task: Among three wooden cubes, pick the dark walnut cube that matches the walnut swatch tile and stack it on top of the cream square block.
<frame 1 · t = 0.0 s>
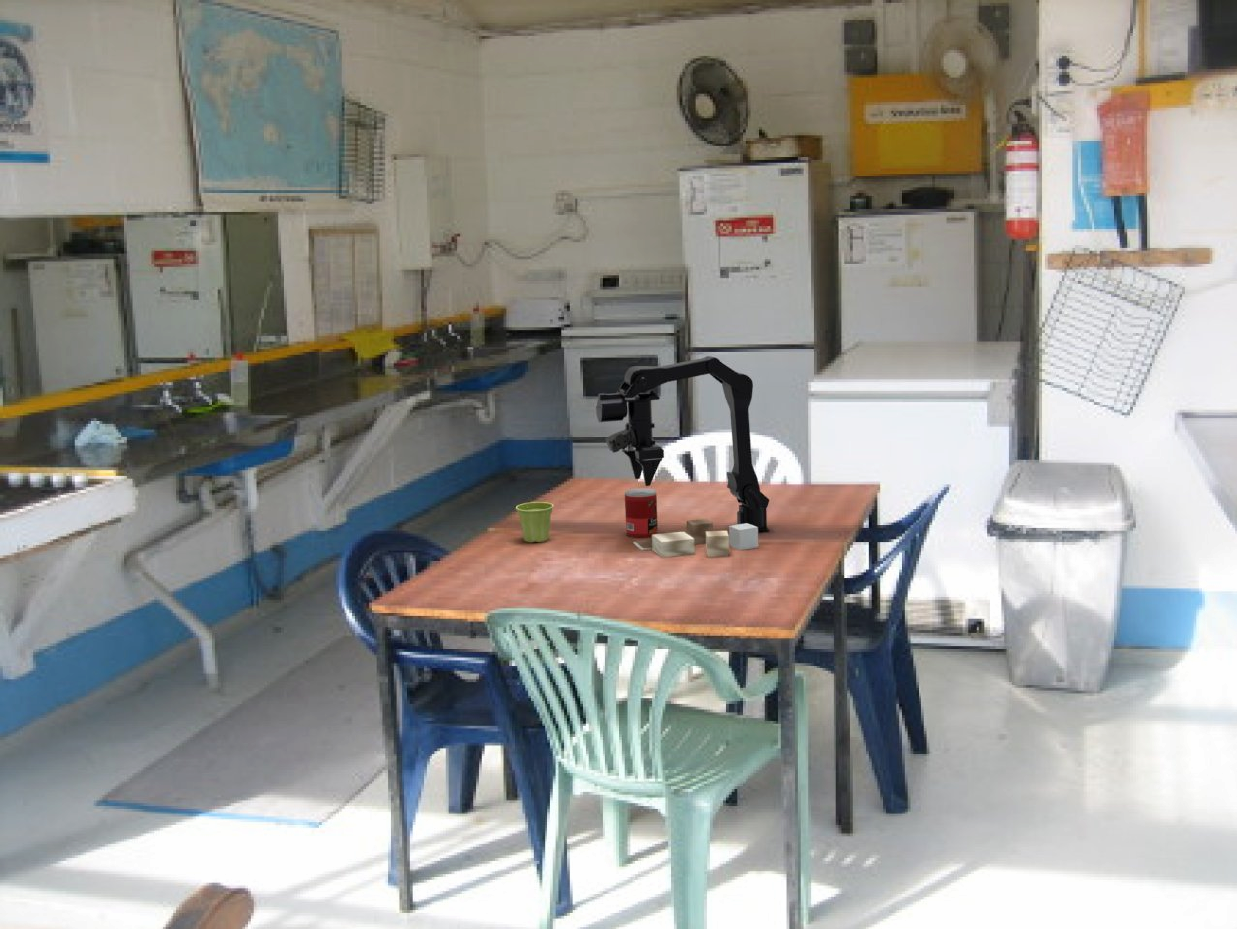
hand: (642, 482, 323), 15 cm above the table, fingers open, 9 cm apart
grey block: (743, 546, 317), on the table
plant pot: (536, 540, 332), on the table
maple block: (717, 554, 311), on the table
cream square block: (673, 553, 315), on the table
canned food: (642, 534, 333), on the table
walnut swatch: (651, 545, 322), on the table
walnut block: (700, 541, 324), on the table
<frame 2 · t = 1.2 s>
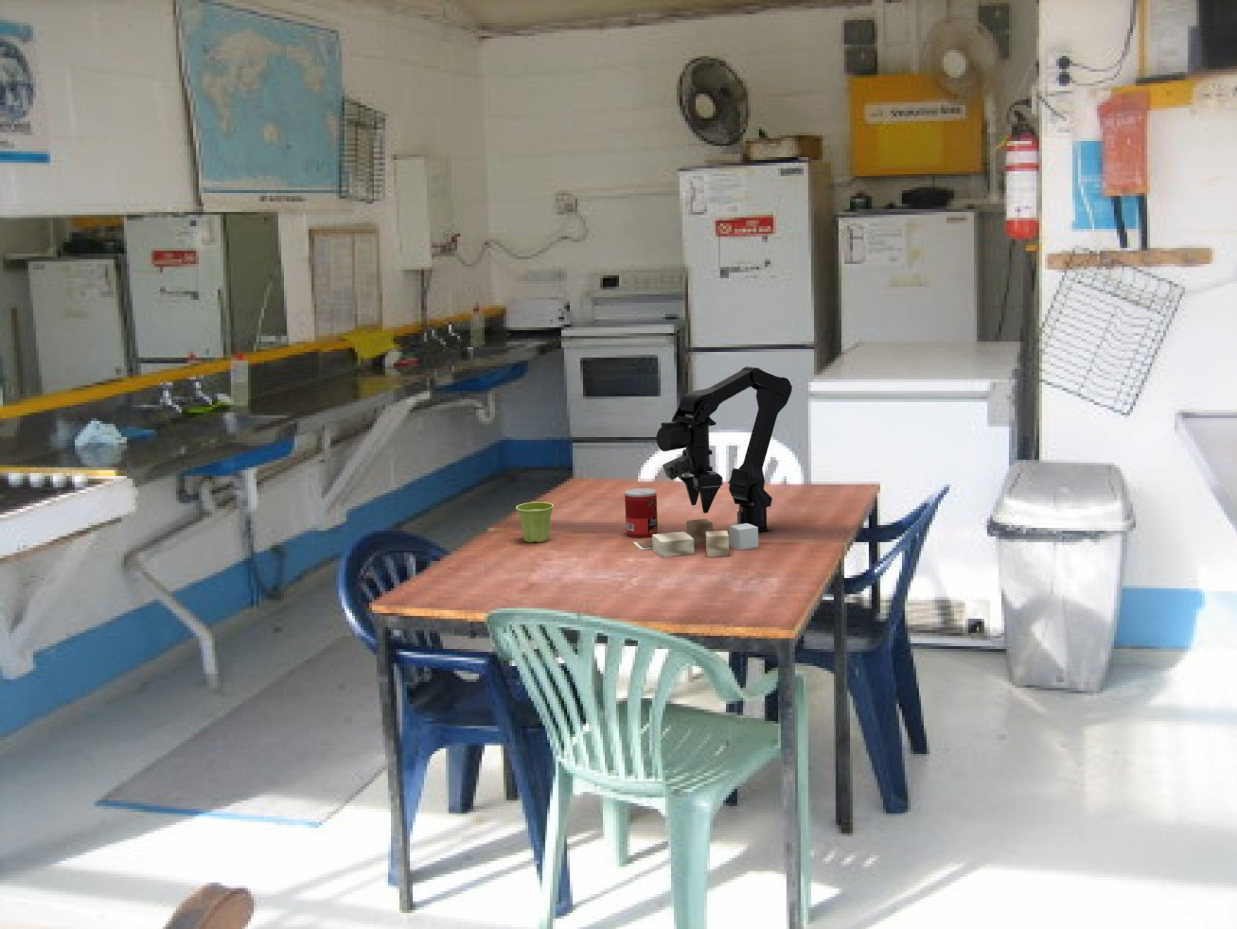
hand: (699, 508, 322), 8 cm above the table, fingers open, 9 cm apart
nothing on the table moved.
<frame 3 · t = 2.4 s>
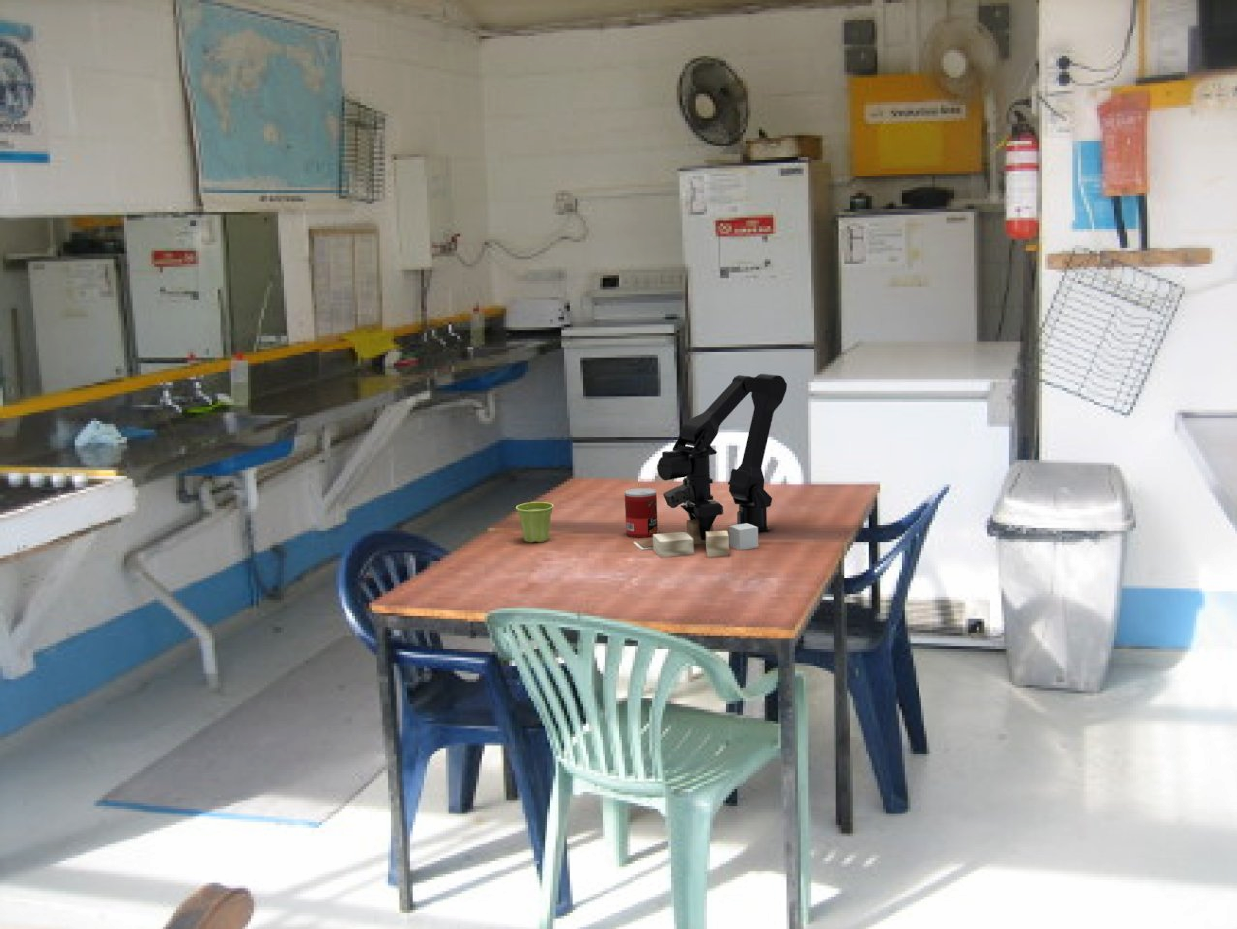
hand: (699, 537, 323), 1 cm above the table, fingers closed on walnut block, 5 cm apart
walnut block: (700, 541, 324), on the table, touching gripper
everything else where it was.
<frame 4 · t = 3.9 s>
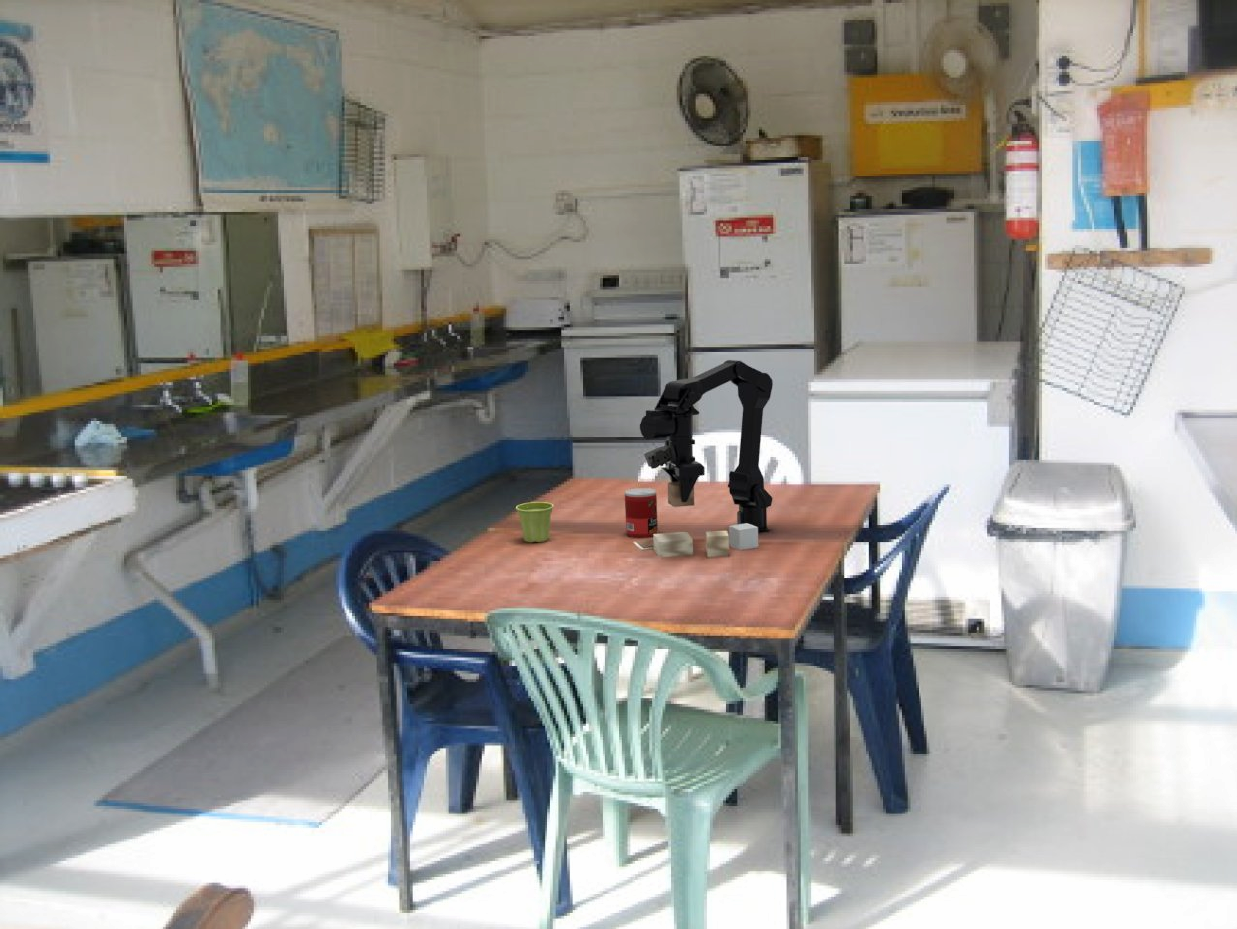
hand: (681, 500, 316), 12 cm above the table, fingers closed on walnut block, 5 cm apart
walnut block: (681, 504, 316), point 11 cm above the table, touching gripper
everything else where it was.
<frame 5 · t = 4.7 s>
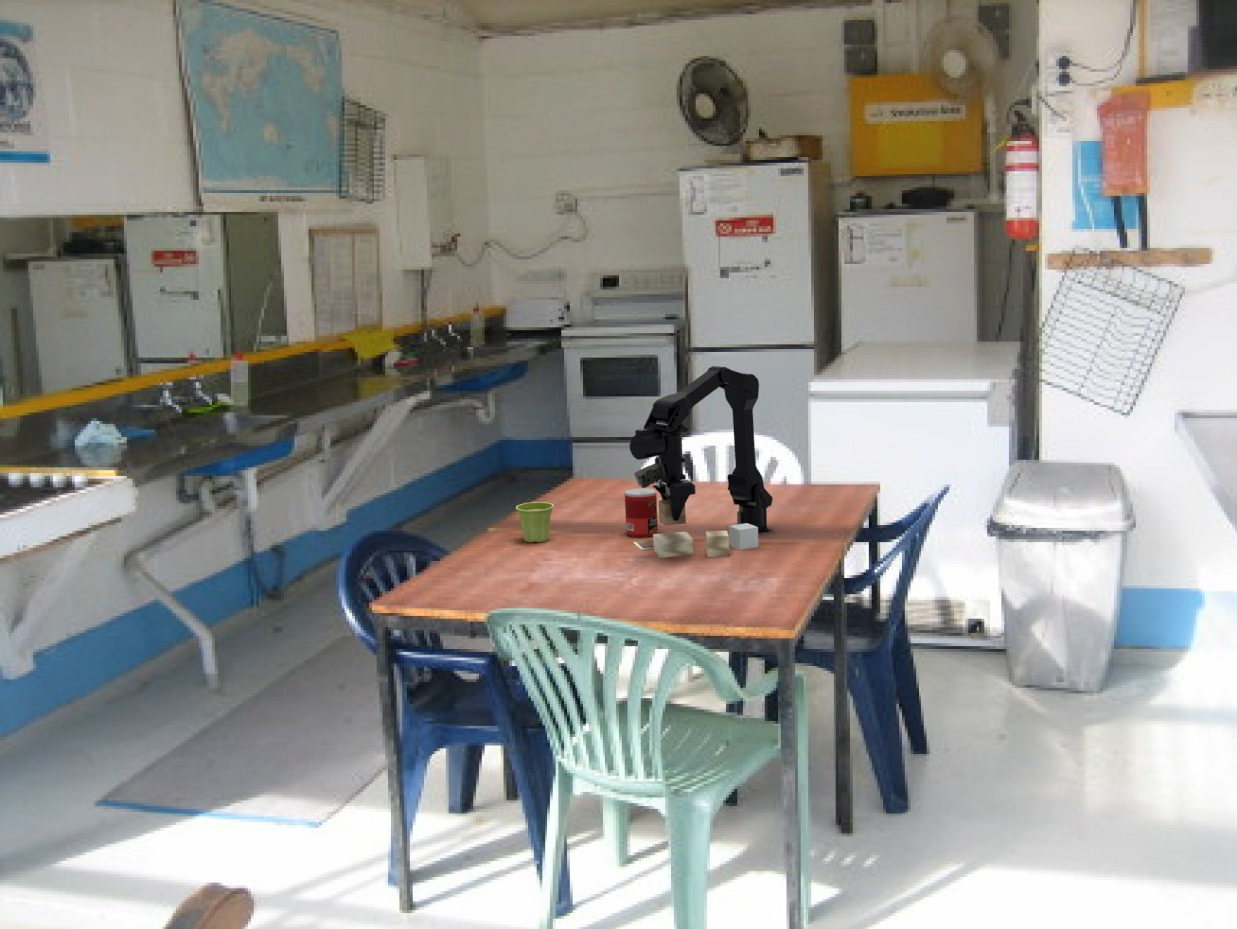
hand: (672, 518, 313), 8 cm above the table, fingers closed on walnut block, 5 cm apart
walnut block: (672, 522, 313), point 7 cm above the table, touching gripper
everything else where it was.
when the fingers open (6 cm above the table, at t = 5.4 s): walnut block drops 1 cm, resting on cream square block.
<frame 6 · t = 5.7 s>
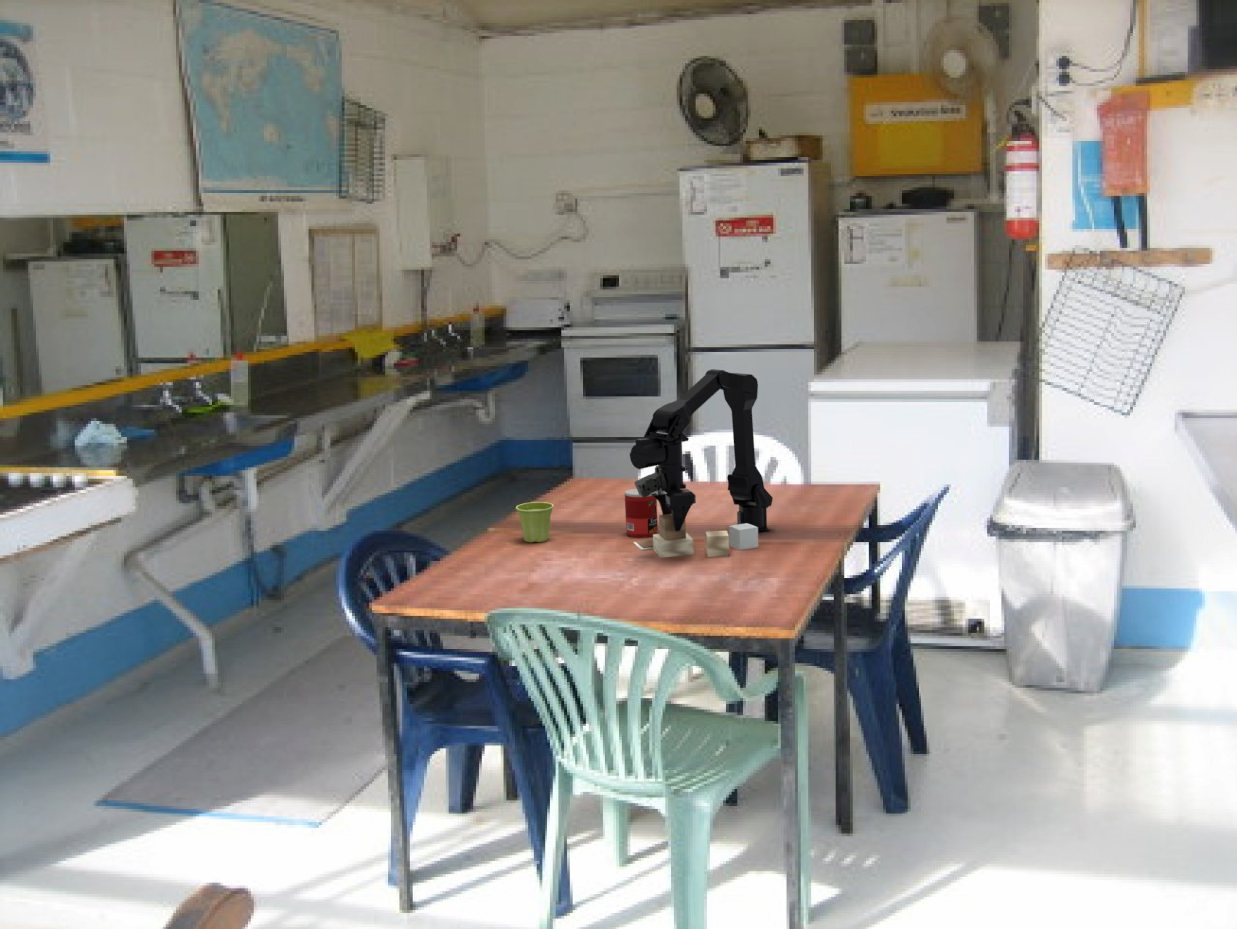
hand: (672, 527, 314), 6 cm above the table, fingers open, 8 cm apart
cream square block: (673, 553, 315), on the table, touching walnut block
walnut block: (672, 536, 314), point 4 cm above the table, touching cream square block
everything else where it was.
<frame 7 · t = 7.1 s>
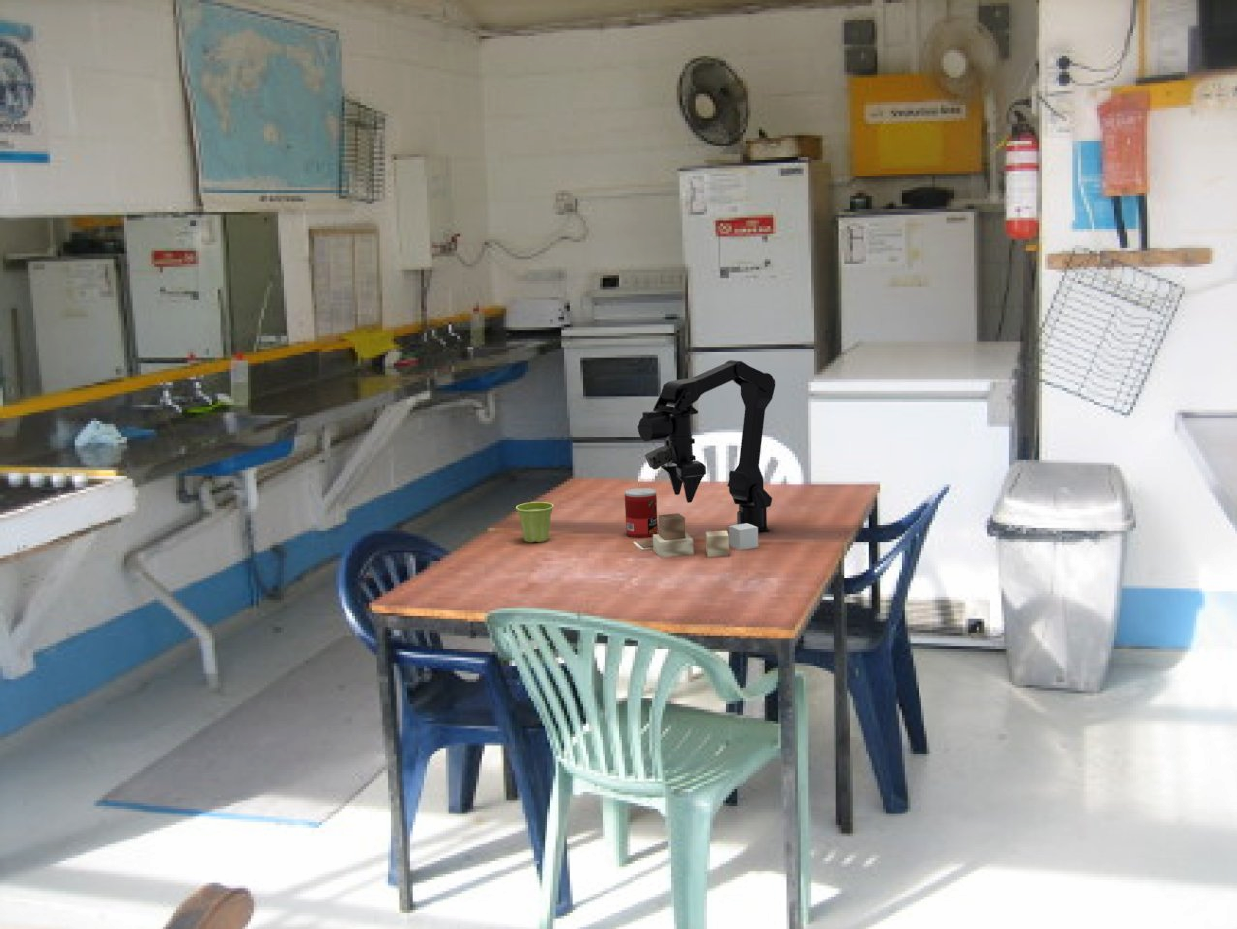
hand: (683, 498, 319), 11 cm above the table, fingers open, 9 cm apart
nothing on the table moved.
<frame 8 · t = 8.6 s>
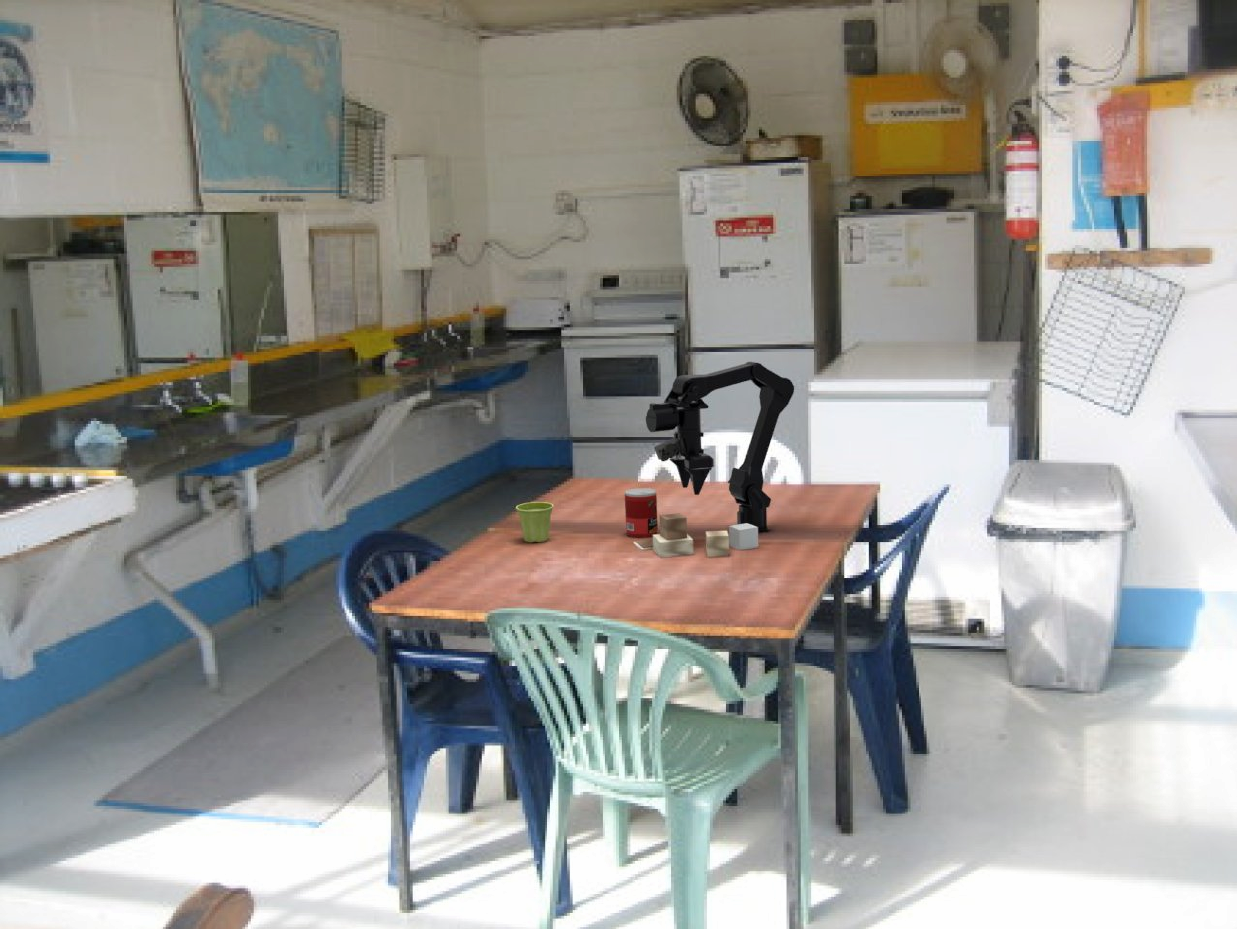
hand: (690, 491, 324), 12 cm above the table, fingers open, 9 cm apart
nothing on the table moved.
at the end: walnut block 0.2 cm off-centre on the cream square block, point 4.0 cm above the cream square block's base; walnut block tilted 0°; the gripper is holding nothing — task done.
